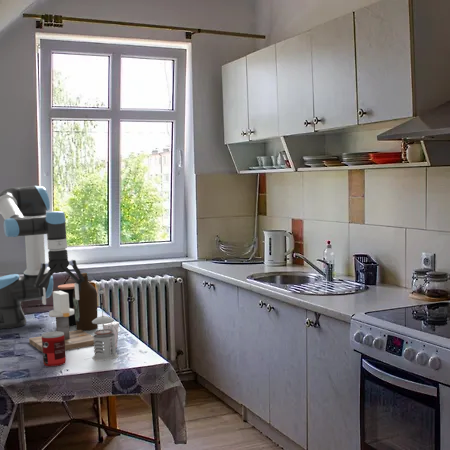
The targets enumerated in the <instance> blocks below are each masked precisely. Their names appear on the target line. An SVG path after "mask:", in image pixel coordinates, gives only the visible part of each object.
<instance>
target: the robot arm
mask: <svg viewBox="0 0 450 450" xmlns="http://www.w3.org/2000/svg"><path fill="white" fill-rule="evenodd" d="M50 202H51V201H50V198H49V194H48V191H47V188H45V187H44V186H41V185H29V186H11V187H7V188H5V189H3V190H1V191H0V215H1V216H2V218H3V219H4V221H3V231H4V235H5V237H7V238H9V237H11V238H17V237H24V238H25V259H26V261H25V262H26V269H25V270H24V271H23V276H20V275H19V274H18V273H12V274H7V275H3V276H0V329H1V330H3V329H2V328H7V329H14V328H19V327H22V326H25V325H26V324H27V318H26V316H25V313H24V311H23V309H22V302H27V301H28V302H29V301H37V300H41V301H42V305H47V299H48V298H51V296H52V295H53V292H54V291H53V290H54V277H53V275H54V274H60V273H61V274H63V273H66V275H68V276H69V277H70V278H71V279H72V280H73V281H74V282H75V283H73V284H74V286H75V299H76V300H79V291H81V282H84V281H85V279H84V277H83V276H82V274H81V273H82V272H81V270H80V269H79V267H78V265H77V261H76V259H71V260H69V257H68V256H69V255H68V249H67V248H68V243H67V227H66V225H67V224H66V223H67V222H66V221H67V219H66V213H65V212H64V211H49V210H50V209H51V207H50V206H51V203H50ZM45 235H46V237H47V239H46V240H47V250H48V252H47V254H48V255H47V256H48V262H47V263H46V254H45V253H46V250H45V249H46V248H45ZM69 266H71V267H72V269H73V270H74V272H75V273H76V274H74V273H73V272H72V271H71V270H70V269H69V268H68V267H69ZM48 268H49V269H48ZM76 275H77V276H76Z"/></svg>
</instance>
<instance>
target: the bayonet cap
mask: <svg viewBox="0 0 450 450" xmlns="http://www.w3.org/2000/svg"><path fill="white" fill-rule="evenodd" d="M52 301H53V302H52V303H53V305H52V306H53V309H52V310H49V311H48V316H49V317H50V318H56V317H68V316H70V315H73V314H75V313H74V309H71V308H69V294H68V293H66V292H63V291H59V290H54V291H52Z"/></svg>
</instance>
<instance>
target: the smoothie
mask: <svg viewBox="0 0 450 450" xmlns="http://www.w3.org/2000/svg"><path fill="white" fill-rule="evenodd" d="M109 316H110V317H111V318H113V317H112V312H109ZM112 325H113V326H115V328H116V329H115V328H114V327H113V326H112ZM108 326H110V327H111V328H112V330H113V332H114V335H115V343H116V344H115V349H117V348H118V340H119V339H118V340H117V333H118V334H119V327H120V322H119V321H113V322H111V323H107V324H104V329H108ZM110 327H109V329H111V328H110ZM116 330H117V332H116ZM113 332H112V333H113ZM111 338H112V337H110V339H111ZM116 341H117V342H116ZM110 342H112V340H111V341H110ZM110 345H111V344H110ZM111 349H112V347H111Z"/></svg>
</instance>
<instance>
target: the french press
mask: <svg viewBox="0 0 450 450" xmlns="http://www.w3.org/2000/svg"><path fill="white" fill-rule="evenodd" d="M98 294H99V295H100V296H101V297H100V299H101V300H100V301H101V302H103V295H104V294H105V291H104V290H99V291H98ZM103 309H104V308H103V306H101V312H102V313H101V314H102V315H101V316H97V318H96V319H94V320H93V321H92V323H93V324H98V325H102V329H101V328H100V329H97V330H96V329H95V331H94V332H93V333H94V335H92V336H93V339H94V342H95V343H94V345H93V346H94V347H93V351H94V355H93V356H92V357H91V359H92V360H94V361H97V362H99V361H100V362H103V361H111V360H114V359H116V358H118V357H119V354H118V353H117V351H116V348H115V344H116V343H115V335H114V332H113V330H112V328H111V327H110V326H108V329H104V324H107V323H111V322H115V319H114V318H113V317H112V318H111V317H109V316H105V315H104V311H103ZM112 326H113V325H112ZM109 327H110V328H111V329H109ZM113 327H114V328H115V326H113ZM115 329H116V328H115ZM112 332H113V333H112ZM116 332H117V330H116ZM110 337H112V338H111V339H110ZM111 340H112V342H110V341H111ZM117 340H119V332H118V333H117ZM116 342H117V341H116ZM117 343H118V342H117ZM110 344H111V345H110ZM111 347H112V349H111Z"/></svg>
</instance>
